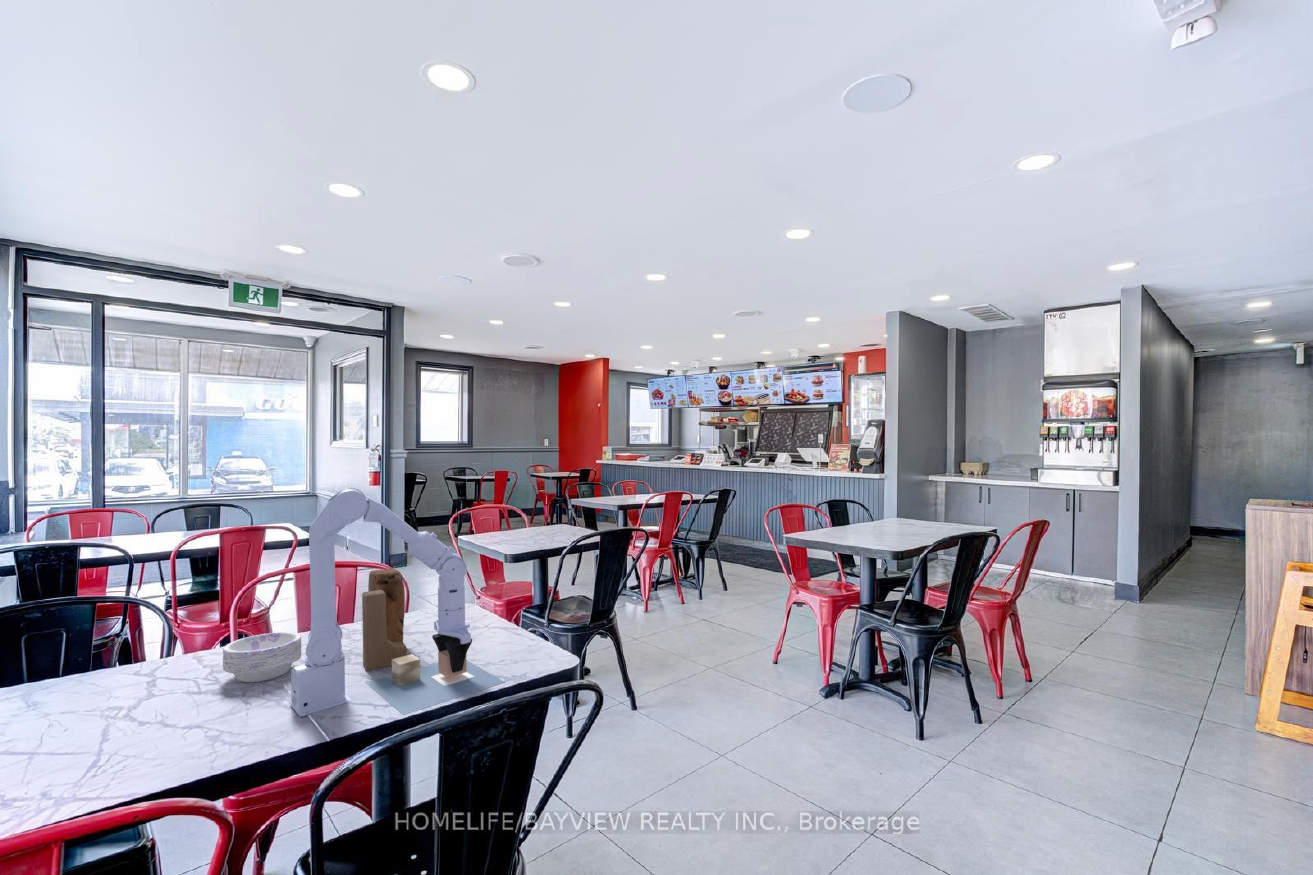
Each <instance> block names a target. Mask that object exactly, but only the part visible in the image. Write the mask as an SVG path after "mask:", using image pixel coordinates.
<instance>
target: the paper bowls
mask: <svg viewBox="0 0 1313 875" xmlns="http://www.w3.org/2000/svg"><path fill="white" fill-rule="evenodd" d="M301 657H302V635H300V634H299V633H296V632H288V631H283V632H282V631H281V632H280V631H278V632H277V631H276V632H269V633H261V634H256V635H250V636H247V637H243V638H240V639H236V640H234V641H232V642H230V643H227V644H226V645H224V647H223V648H222V670H223V671H224V672H226V673H229V674H233V676H234V677H235V679H236V680H237V681H238V682H244V683H258V682H265V681H269V680H274V679H276V678H279V677H281V676H282V675H285V674H286V673H288V672H289V671H290V669H291V667H292V664H294V663H295V662H297V661H299V660H300V659H301Z"/></svg>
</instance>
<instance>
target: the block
mask: <svg viewBox="0 0 1313 875" xmlns="http://www.w3.org/2000/svg"><path fill="white" fill-rule="evenodd" d="M404 584H405V583H404V580H403V575H402V573H401V572H400V571H399V570H397V569H395V568H389V569H374V570H370V572H369V574H368V585H367V586H368V589H367V590H368V591H376V590H383V591H384V592H385V594H386V635H387V639H388V640H389V641H391V642H403V643H404V625H405V624H404V623H405V614H406V612H405V609H406V607H405V606H406V605H405V604H406V603H405V602H406V600H405V598H406V597H405V585H404ZM368 591H367V592H368Z"/></svg>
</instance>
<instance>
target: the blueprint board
mask: <svg viewBox="0 0 1313 875" xmlns="http://www.w3.org/2000/svg"><path fill="white" fill-rule="evenodd" d="M466 664H467V672H465V673H462V674H458V675H455V676H452V677H448V678H447V677H445V676H444V675H442V674H441V673H439V671H438V662H434V663H431V664H427V665H424V666H420V680H417V681H414V682H410V683H407V684H403V685H398V684H397V683H396V682H394V681H393V680H392V674H391V675H387V676H386V675H385V676H384V677H383V676H382V677H380V678H379V677H378V678H375V679H371V680H369V681H368V680H367V681H365V684H366V685H368V686H369V687H370V688H371V689H372V690H374V691H375V693H377V694H378V695H379V696H381V697H382V698H383V699H384V700H386V702H387V703H388V704H390V705H391V706H392V707H393V708H394V709H396V711H398V712H399V713H400V714H401V715H402V716H404V715H407V714H411V713H413V712H417V711H420V710H424V709H426V708H429V707H432V706H435V705H438V704H442V703H445V702H449V701H451V700H455V699H458V698H461V697H465V696H468V695H469V694H470V695H471V694H475V693H476V692H480V691H483V690H485V689H486V690H487V689H489V688H492V687H496V686H498V685H502V684H505V683H506V681H504V680H502V679H500V677H499V678H498V677H497V676H495V675H494V674H492V673H490V672H489V671H486V670H485V669H483V668H482V667H480V666H478V665H476V664H474V663H473V662H471V661H469V660H467V659H466Z"/></svg>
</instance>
